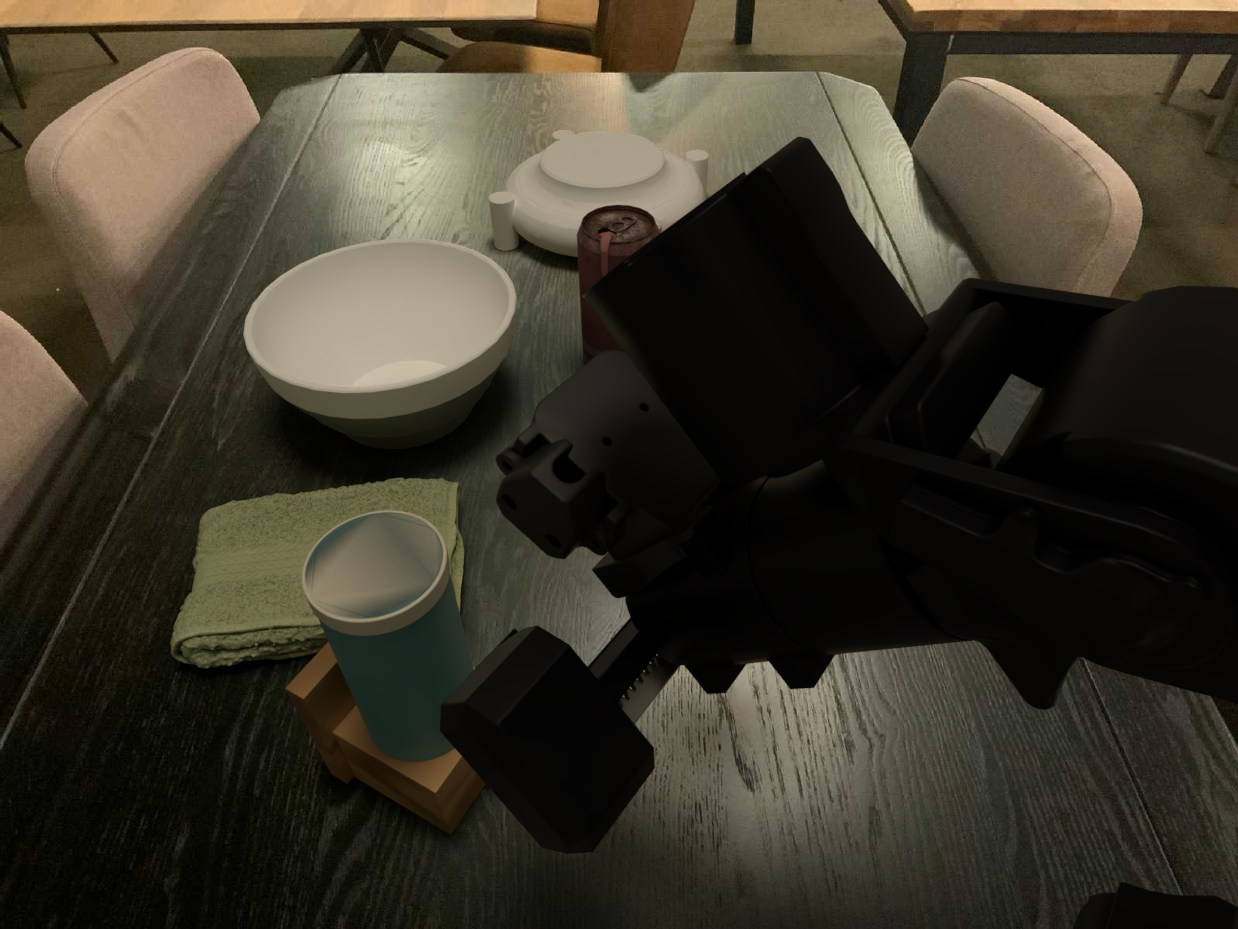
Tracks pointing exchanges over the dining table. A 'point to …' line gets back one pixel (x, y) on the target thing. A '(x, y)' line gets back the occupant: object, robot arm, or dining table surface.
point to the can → (607, 261)
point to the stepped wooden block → (350, 752)
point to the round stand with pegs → (593, 187)
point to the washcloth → (286, 567)
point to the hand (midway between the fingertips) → (566, 615)
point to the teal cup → (391, 625)
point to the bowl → (385, 337)
